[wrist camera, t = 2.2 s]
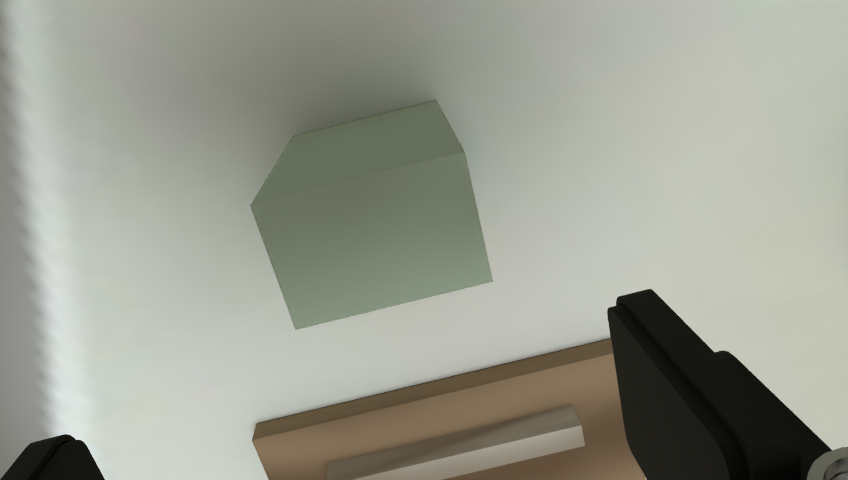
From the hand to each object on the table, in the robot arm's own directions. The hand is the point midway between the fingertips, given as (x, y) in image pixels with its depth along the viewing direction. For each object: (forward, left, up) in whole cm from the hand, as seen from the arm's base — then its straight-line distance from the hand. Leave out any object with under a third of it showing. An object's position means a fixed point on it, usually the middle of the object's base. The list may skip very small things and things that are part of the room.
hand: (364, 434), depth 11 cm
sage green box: (0, 0, -17) cm, 17 cm away
